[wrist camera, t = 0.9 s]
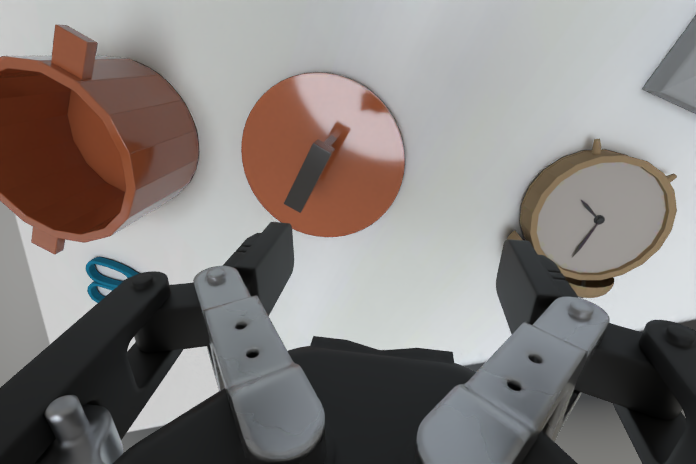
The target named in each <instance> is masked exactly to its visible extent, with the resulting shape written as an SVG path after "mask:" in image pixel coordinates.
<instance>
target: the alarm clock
mask: <svg viewBox="0 0 696 464" xmlns="http://www.w3.org/2000/svg"><path fill="white" fill-rule="evenodd" d="M675 178H677V176H676V175H675V174H671V175H668V176H665V174H664V173H663V172H661V171H660V170H658V169H657V168H656V167H654V166H653V165H652V164H650V163H649V162H647V161H644V160H640V159H637V158H633V157H629V156H628V155H624V154H621V153H617V152H613V151H609V150H606V149H605V150H601V143H600V139H594V142H593V147H592V150H583V151H580V152H577V153H574V154H572V155H569V156H566V157H563V158H561V159H559V160H558V161H556V162H555V163H553V164H552V165H550V166H549V167H547V168H546V169H544V170H543V171H542V172H541V173H540V175H539V176H538V177H537V178H536V179H535V180H534V181H533V183H532V184H531V185H530V186H529V188H528V191H527V193H526V195H525V197H524V199H523V202H522V204H521V214H520V224H521V228H522V232H523V236H524V238H525V240H526V241H529V242H530V243H531V245H532V246H533V248H534V249H535V251H536V253H537V254H538V255H544V256H546V257H547V258H549V259H550V260H552V261H553V262H554V263H555V264H556V265H557V266H558V268H559V269H560V271H561V273H562V274H563V275H564V277H565V278H566V280H567V281H568V283H569V284H570V285H571V287H572V288H573V290H574V291H575V293H576V294H577V296H578V297H579V298H595V297H599V296H602V295H604V294H606V293H607V292H608V291H609V290H610V289H611V288H612V286H613V284H614V278H613V277H615V276H619V275H623V274H625V273H627V272H628V271H630V270H632V269H634V268H636V267H638V266H640V265H642V264H643V263H644V262H645V261H647V260H648V259H649V258H650V257H651V256H652V255H653V254H654V253H656V252H657V251H658V250H659V249H660V248H661V246H662V244H663V243H664V241H665V240H666V238H667V237H668V235H669V234H670V232H671V230H672V227H673V223H674V219H675V215H676V211H677V208H676V200H675V192H674V189H673V188H672V186H671V184H670V182H671V181H673V180H674V179H675ZM507 239H511V240H522V239H521V237H520V236H519V235H518V233H517V232H516V231H513V232H512V233H511V234H510V235H509V236H508V238H507Z"/></svg>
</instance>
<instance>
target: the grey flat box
mask: <svg viewBox="0 0 696 464" xmlns="http://www.w3.org/2000/svg"><path fill="white" fill-rule="evenodd" d="M642 89H643V90H645V91H647V92H649V93H652V94H654V95H656V96H658V97H660V98H663V99H665V100H667V101H669V102H671V103H674V104H676V105H678V106H680V107H682V108H685V109H687V110H689V111H691V112H693V113H696V16H695V17H694V19H693V20H692V22H691V23H690V24H689V26H688V27H687V28H686V30H685V31H684V32H683V34H682V35H681V37H680V38H679V39H678V41H677V42H676V43H675V45H674V46H673V47H672V49H671V50H670V52H669V53H668V54H667V56H666V57H665V58H664V60H663V61H662V62H661V64H660V65H659V67H658V68H657V69H656V71H655V72H654V73H653V75H652V76H651V77H650V79H649V80H648V82H647V83H646V84H645V86H644V87H643V88H642Z"/></svg>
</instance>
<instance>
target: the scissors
mask: <svg viewBox="0 0 696 464" xmlns="http://www.w3.org/2000/svg"><path fill="white" fill-rule="evenodd" d="M95 264H98V265H102V266H105V267H108V268H111V269H114V270H116V271H119V272H121V273H123V274H124V275H126V276H127V278H130V277H132V276H134V275H137V274H139V273H137V272H136V271H134V270H132V269H131V268H129V267H127V266H125V265H123V264H121V263H118V262H115V261H113V260H109V259H106V258H102V257H96V258H94V259H92V260H91V261H89V262H88V263H87V265H86V272H87V274H88V275H89V277H90V278H91V279H92V280H94V282H93V283H91V284H90V285H89V286H88V290H87V291H88V294H89V296H90V297H91V299H93V300H94V301H95V302H97V303H99V302H100V301H101V300H102V299H103V298H105V297H104V296H102V295H101V294H99V292H98V291H97V288H96V286H99V287H103V288H106V289H109V290H112V291H113V290H114V289H115V288H116V287H117V286H118V285H120V284H121V283H122V282H123V281H118V280H114V279H111V278H108V277H105V276H103V275H101V274H99V273H98V272H97V270H96V268H95Z"/></svg>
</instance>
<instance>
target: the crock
mask: <svg viewBox="0 0 696 464" xmlns="http://www.w3.org/2000/svg"><path fill="white" fill-rule="evenodd" d="M97 44H98V43H97V42H95V41H94V40H92V39H90V38H88V37H87V36H85V35H83V34H81V33H80V32H78V31H76V30H74V29H72V28H71V27H69V26H67V25H55V32H54V41H53V50H52V56H1V57H0V201H1V202H2V203H3V204H5V205H6V206H7V207H8V208H9V209H10V210H11V211H13V212H14V213H15V214H16V215H17V216H18V217H19V218H20V219H21V220H23V221H24V222H26V223H28V224H30V225H31V226H33V231H32V240H31V242H32V243H33V244H35V245H37V246H39V247H41V248H43V249H45V250H47V251H49V252H51V253H53V254H57V253H58V252H60V251H62V250H63V249H64V243H65V239H66V240H72V241H78V242H83V243H84V242H89V241H93V240H97V239H101V238H105V237H109V236H111V235H113V234H115V233H116V232H118V231H120V230H121V229H123V228H125V227H126V226H128V225H130V224H131V223H133V222H134V221H136V220H138V219H139V218H141V217H143V216H144V215H146V214H148V213H149V212H151V211H153V210H154V209H156V208H158V207H159V206H161V205H163V204H164V203H166V202H167V201H169V200H171V199H172V198H174V197H175V196H176V195H177V194H178V193H180V192H181V191H182V190H183V189H184V188H185V187H186V186H187V185H188V184H189V182H190V181H191V179H192V177H193V175H194V173H195V171H196V167H197V163H198V156H199V143H198V136H197V132H196V128H195V124H194V122H193V119H192V116H191V114H190V112H189V110H188V108H187V106H186V105H185V103H184V101H183V100H182V98H181V97H180V95H179V94H178V93H177V92H176V90H175V89H174V88H173V87H172V86H171V85H170V84H169V83H168V82H167V81H166V80H165V79H164V78H163V77H162V76H160V75H159V74H158V73H157V72H155V71H154V70H152V69H150V68H149V67H147V66H145V65H143V64H141V63H139V62H137V61H134V60H131V59H128V58H122V57H112V56H103V55H96V50H97Z"/></svg>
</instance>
